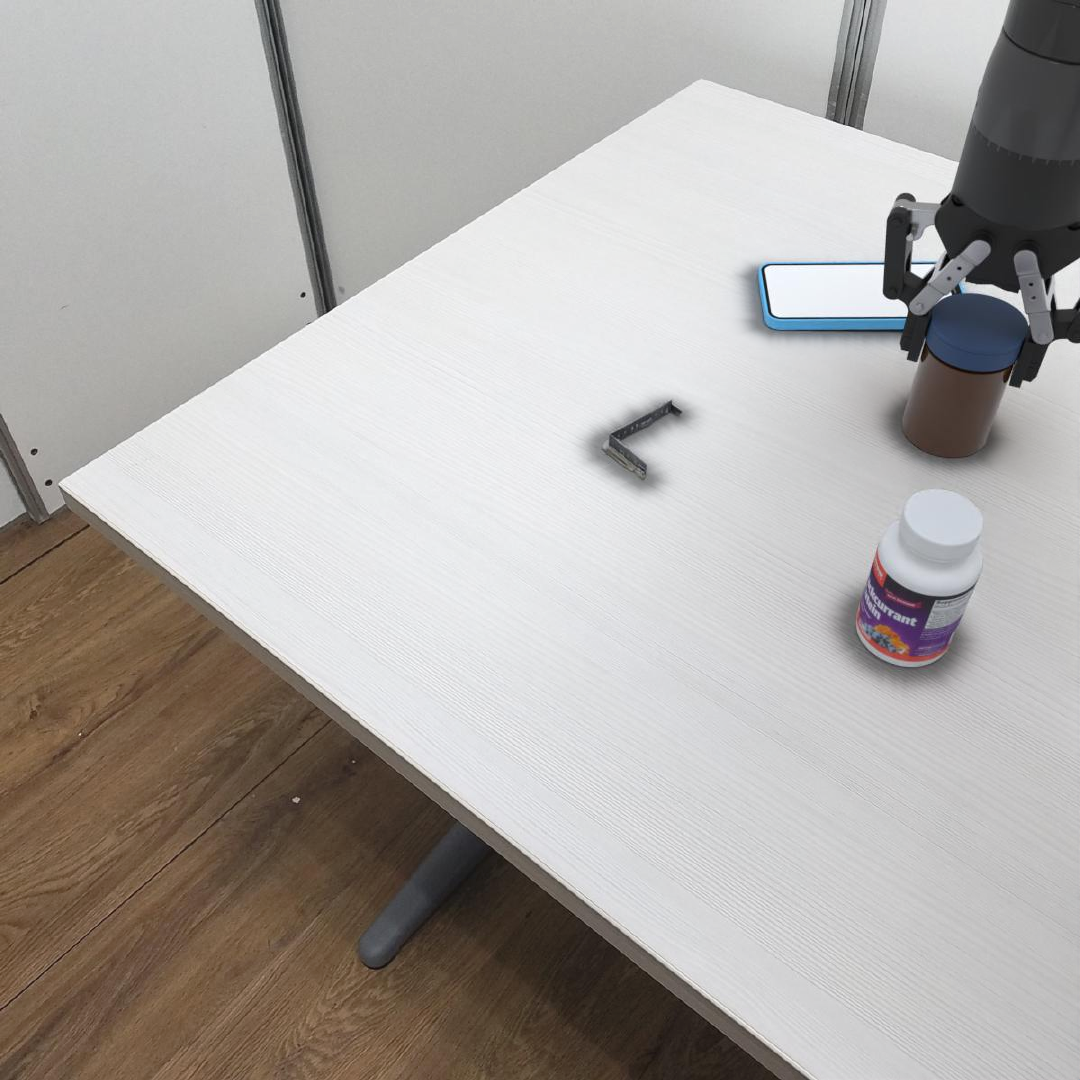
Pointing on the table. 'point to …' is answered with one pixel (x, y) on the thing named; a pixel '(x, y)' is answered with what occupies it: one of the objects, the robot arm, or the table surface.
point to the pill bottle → (921, 579)
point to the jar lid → (976, 332)
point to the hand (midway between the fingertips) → (965, 366)
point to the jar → (952, 406)
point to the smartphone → (832, 295)
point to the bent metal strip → (630, 428)
